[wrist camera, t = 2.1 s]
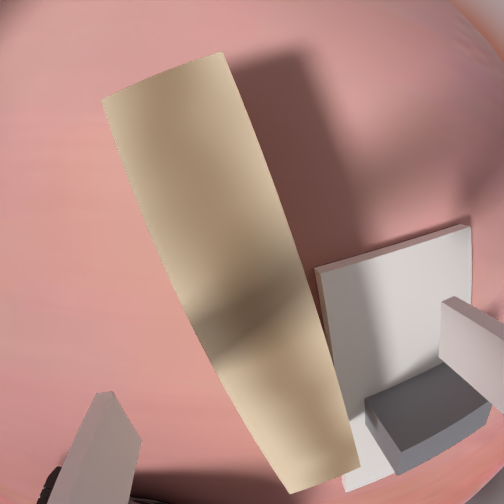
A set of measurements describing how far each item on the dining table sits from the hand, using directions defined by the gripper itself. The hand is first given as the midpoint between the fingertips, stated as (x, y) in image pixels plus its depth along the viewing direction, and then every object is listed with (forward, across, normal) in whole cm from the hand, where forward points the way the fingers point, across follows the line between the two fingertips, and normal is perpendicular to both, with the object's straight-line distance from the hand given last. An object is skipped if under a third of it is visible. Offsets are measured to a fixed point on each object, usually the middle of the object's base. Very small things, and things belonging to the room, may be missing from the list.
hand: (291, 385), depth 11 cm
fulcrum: (+9, +10, -11) cm, 17 cm away
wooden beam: (+9, -1, 0) cm, 9 cm away
